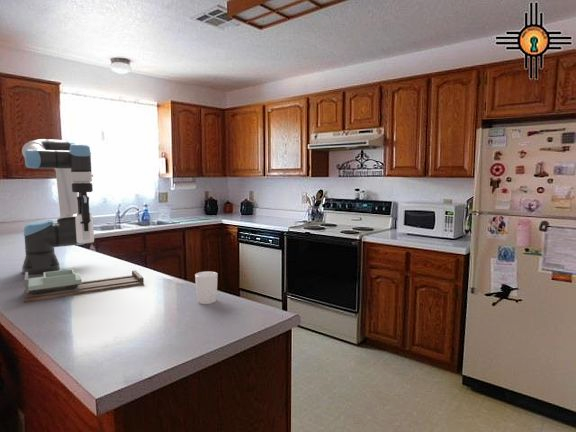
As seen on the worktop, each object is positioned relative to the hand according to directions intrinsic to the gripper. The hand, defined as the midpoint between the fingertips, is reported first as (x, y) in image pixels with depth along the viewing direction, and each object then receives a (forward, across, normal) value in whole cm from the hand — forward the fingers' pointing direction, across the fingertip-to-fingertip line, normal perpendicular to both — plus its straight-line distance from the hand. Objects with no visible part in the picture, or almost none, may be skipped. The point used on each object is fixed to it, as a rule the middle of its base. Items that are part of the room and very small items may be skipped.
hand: (85, 237), depth 162 cm
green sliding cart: (+17, -8, +13) cm, 23 cm away
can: (+2, 0, 0) cm, 2 cm away
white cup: (+20, -52, -31) cm, 64 cm away
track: (+19, -9, +2) cm, 21 cm away
